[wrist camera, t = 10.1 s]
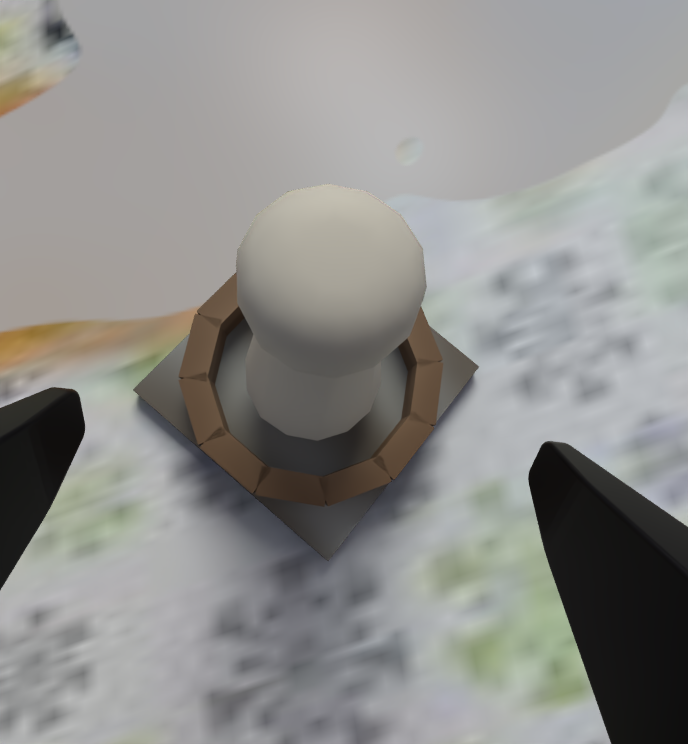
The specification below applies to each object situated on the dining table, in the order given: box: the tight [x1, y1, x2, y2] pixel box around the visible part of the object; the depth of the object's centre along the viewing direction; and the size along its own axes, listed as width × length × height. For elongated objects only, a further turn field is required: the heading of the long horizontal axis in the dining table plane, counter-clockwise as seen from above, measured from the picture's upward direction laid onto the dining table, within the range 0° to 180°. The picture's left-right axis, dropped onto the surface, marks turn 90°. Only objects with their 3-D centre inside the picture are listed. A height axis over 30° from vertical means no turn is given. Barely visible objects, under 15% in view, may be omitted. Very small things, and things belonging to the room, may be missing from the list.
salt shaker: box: [236, 184, 426, 441], centre depth 16 cm, size 6×6×13 cm
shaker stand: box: [133, 273, 479, 561], centre depth 21 cm, size 12×12×3 cm
